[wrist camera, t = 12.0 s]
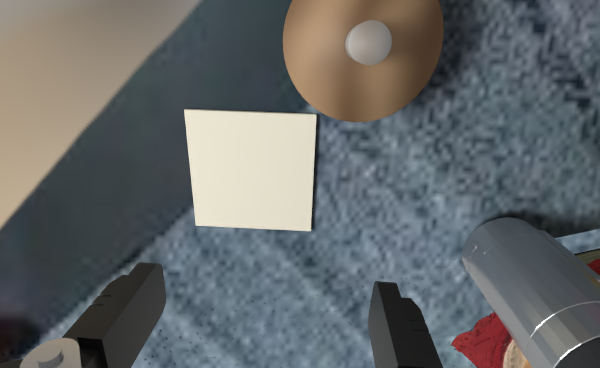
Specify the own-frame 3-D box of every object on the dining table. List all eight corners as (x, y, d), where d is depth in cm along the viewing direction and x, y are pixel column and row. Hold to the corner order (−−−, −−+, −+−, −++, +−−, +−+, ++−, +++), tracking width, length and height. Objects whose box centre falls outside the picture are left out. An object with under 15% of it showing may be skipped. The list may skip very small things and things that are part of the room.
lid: (454, -47, 27) (489, -70, 21) (425, 122, 32) (447, 138, 27) (284, -50, 27) (276, -74, 22) (283, 117, 33) (276, 132, 27)
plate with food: (621, 231, 39) (648, 248, 35) (712, 358, 45) (742, 382, 41) (443, 332, 46) (452, 353, 43) (542, 429, 52) (556, 454, 49)
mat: (316, 113, 38) (316, 114, 38) (310, 228, 44) (310, 231, 44) (186, 108, 39) (184, 109, 38) (197, 223, 45) (195, 225, 44)
